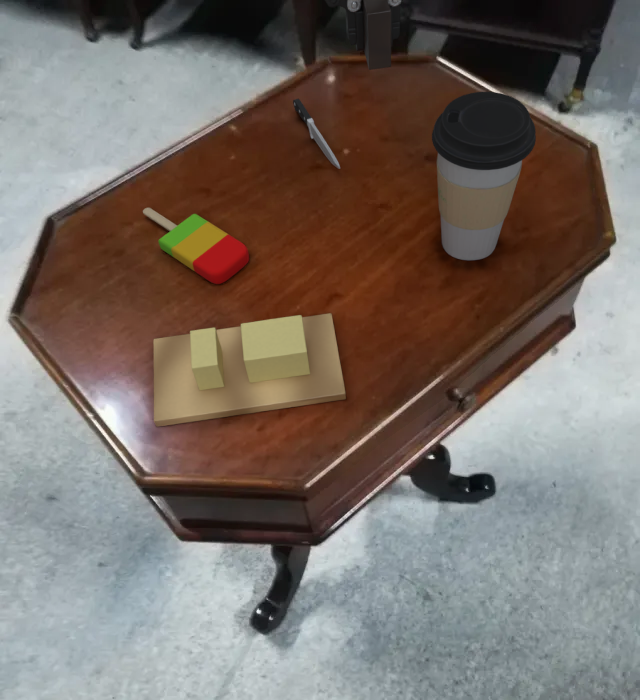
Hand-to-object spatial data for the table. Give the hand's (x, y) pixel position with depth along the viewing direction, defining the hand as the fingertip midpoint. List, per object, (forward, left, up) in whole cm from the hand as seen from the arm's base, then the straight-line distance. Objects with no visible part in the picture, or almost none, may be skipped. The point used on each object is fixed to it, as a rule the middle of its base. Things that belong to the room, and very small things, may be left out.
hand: (373, 43), depth 68 cm
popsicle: (+21, +2, -19) cm, 29 cm away
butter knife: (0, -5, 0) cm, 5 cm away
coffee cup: (-9, +8, -19) cm, 22 cm away
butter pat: (+20, +21, -18) cm, 34 cm away
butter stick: (+13, +21, -18) cm, 30 cm away
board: (+16, +21, -19) cm, 32 cm away
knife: (+5, -12, -19) cm, 23 cm away
